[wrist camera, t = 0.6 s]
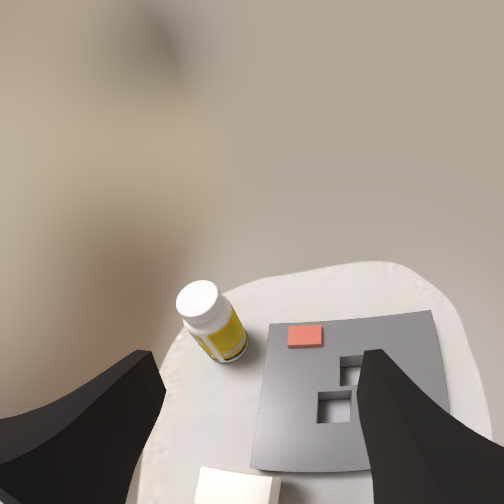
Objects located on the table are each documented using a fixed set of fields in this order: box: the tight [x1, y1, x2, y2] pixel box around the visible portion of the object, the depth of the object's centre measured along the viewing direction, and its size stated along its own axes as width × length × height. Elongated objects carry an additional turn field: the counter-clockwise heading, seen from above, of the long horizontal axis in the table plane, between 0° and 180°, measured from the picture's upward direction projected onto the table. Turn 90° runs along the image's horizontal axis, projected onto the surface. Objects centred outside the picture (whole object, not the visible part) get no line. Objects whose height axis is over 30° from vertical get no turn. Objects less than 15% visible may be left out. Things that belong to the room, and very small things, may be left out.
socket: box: [249, 310, 450, 472], centre depth 20 cm, size 14×16×3 cm
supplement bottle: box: [176, 280, 248, 363], centre depth 26 cm, size 5×5×8 cm
